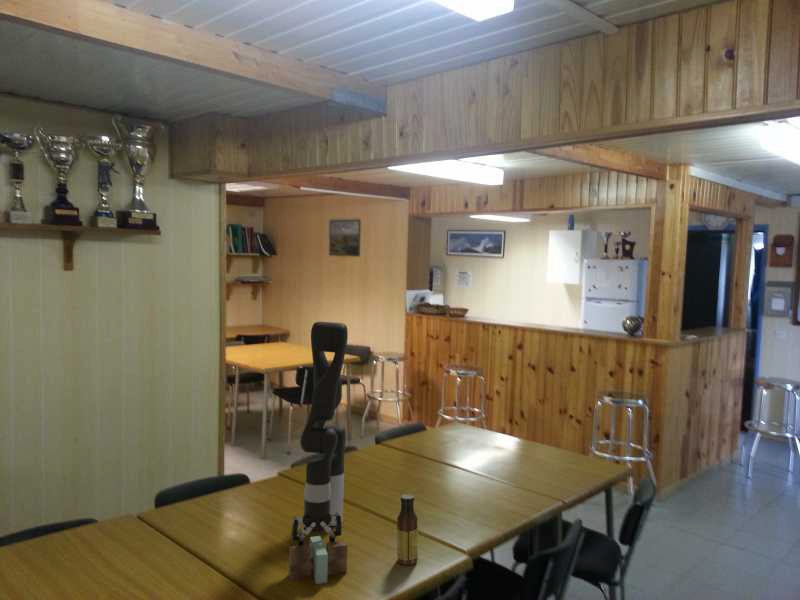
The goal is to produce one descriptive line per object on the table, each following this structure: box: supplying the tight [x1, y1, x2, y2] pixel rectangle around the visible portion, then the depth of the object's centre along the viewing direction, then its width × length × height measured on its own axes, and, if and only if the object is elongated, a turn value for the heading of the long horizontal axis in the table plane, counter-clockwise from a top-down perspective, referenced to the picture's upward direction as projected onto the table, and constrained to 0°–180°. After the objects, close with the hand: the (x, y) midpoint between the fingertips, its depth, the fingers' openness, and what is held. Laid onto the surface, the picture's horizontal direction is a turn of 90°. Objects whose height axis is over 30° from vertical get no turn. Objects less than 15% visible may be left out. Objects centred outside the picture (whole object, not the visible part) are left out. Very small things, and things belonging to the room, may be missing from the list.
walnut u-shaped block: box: [288, 540, 348, 580], centre depth 172 cm, size 16×3×8 cm, turn 108°
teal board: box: [309, 535, 328, 585], centre depth 173 cm, size 12×3×8 cm, turn 18°
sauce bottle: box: [396, 493, 419, 566], centre depth 181 cm, size 7×6×20 cm
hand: (316, 551), depth 176 cm, fingers open, 8 cm apart
